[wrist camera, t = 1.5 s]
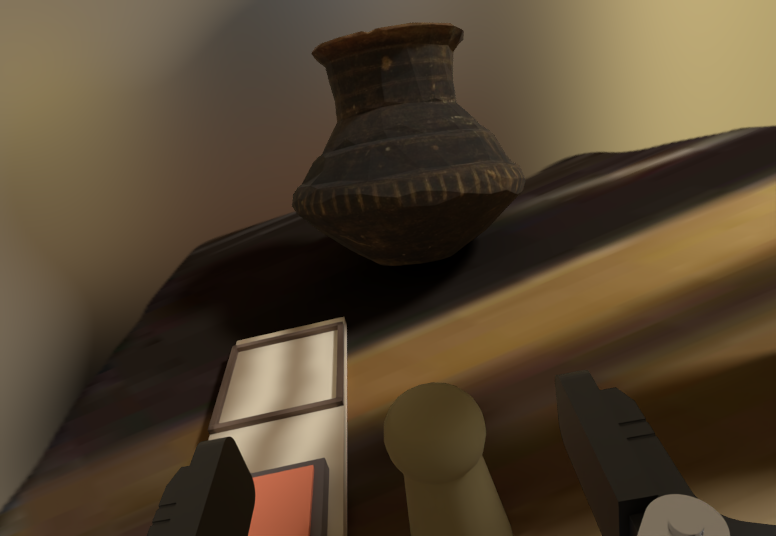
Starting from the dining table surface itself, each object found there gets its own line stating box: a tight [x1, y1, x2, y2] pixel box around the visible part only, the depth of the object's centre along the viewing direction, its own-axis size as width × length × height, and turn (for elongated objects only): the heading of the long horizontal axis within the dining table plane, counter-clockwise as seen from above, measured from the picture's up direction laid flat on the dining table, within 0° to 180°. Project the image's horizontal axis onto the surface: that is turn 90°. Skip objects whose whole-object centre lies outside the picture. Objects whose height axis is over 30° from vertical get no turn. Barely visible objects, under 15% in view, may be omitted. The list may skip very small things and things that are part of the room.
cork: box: [384, 383, 513, 536], centre depth 30 cm, size 6×6×11 cm
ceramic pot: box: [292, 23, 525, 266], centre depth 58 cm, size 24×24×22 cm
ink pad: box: [248, 458, 329, 536], centre depth 34 cm, size 9×9×2 cm
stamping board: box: [208, 317, 347, 536], centre depth 41 cm, size 11×32×2 cm, turn 4°
